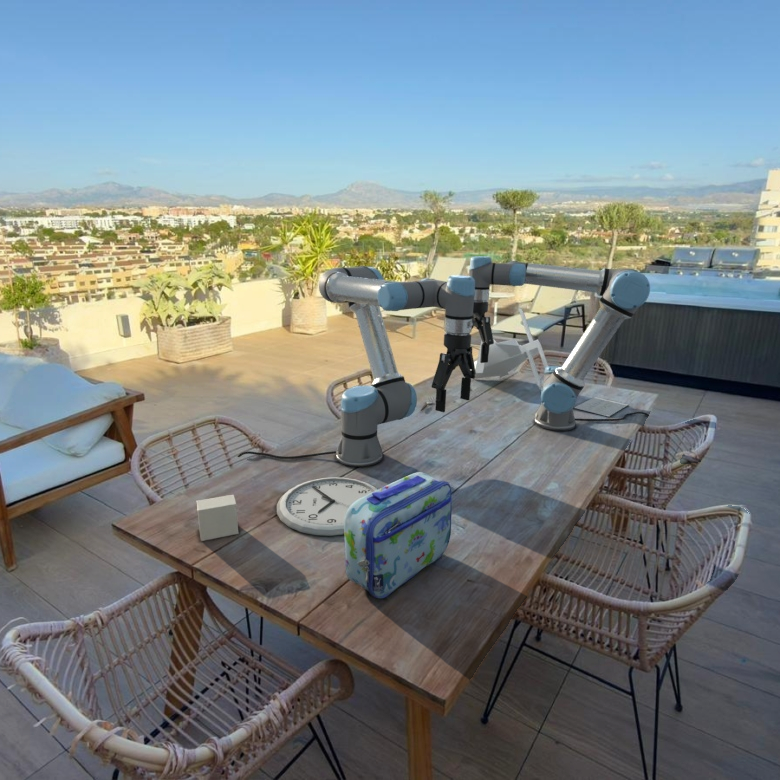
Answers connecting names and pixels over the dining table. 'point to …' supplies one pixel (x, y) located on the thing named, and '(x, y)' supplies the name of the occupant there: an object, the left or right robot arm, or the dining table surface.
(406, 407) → the left robot arm
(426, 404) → the fork
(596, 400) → the invitation card
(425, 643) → the dining table surface
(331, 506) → the wall clock
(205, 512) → the block
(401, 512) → the lunch box
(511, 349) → the white plastic object
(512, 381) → the dining table surface
